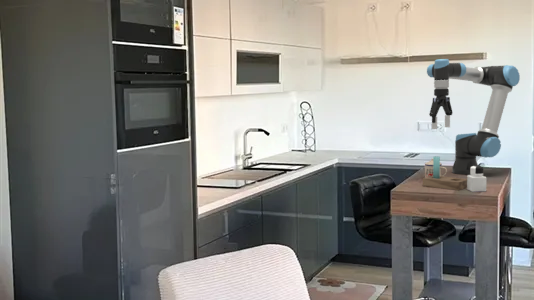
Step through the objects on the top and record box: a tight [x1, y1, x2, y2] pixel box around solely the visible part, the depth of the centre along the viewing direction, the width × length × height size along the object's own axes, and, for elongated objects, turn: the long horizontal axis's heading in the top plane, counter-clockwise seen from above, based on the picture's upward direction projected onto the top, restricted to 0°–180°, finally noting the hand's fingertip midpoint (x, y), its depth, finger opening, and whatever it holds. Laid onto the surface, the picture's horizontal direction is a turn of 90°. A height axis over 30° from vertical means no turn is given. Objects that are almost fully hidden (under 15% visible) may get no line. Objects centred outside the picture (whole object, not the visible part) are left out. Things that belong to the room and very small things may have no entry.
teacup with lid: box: [424, 158, 448, 178], centre depth 341 cm, size 12×9×12 cm
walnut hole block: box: [422, 176, 467, 191], centre depth 320 cm, size 12×20×4 cm, turn 45°
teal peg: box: [432, 156, 441, 179], centre depth 323 cm, size 3×3×15 cm
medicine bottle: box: [466, 165, 487, 193], centre depth 307 cm, size 7×7×12 cm
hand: (441, 128), depth 334 cm, fingers open, 13 cm apart
